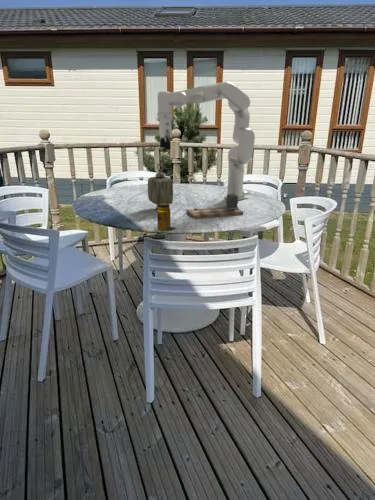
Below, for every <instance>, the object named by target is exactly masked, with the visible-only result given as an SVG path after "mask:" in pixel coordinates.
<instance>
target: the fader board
mask: <svg viewBox="0 0 375 500" xmlns="http://www.w3.org/2000/svg"><path fill="white" fill-rule="evenodd" d="M185 212H187V213H188V214H187V215H189V217H191V218H192V219H193V218H195V219H206V218H216V217H217V218H219V217H231V216H240V215H244V211H243V210H240V209H239V208H238V210H229V209H227V208H225V206H221V207H220V206H219V207H207V208H198V207H194V208H193V209H186V210H185Z"/></svg>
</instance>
